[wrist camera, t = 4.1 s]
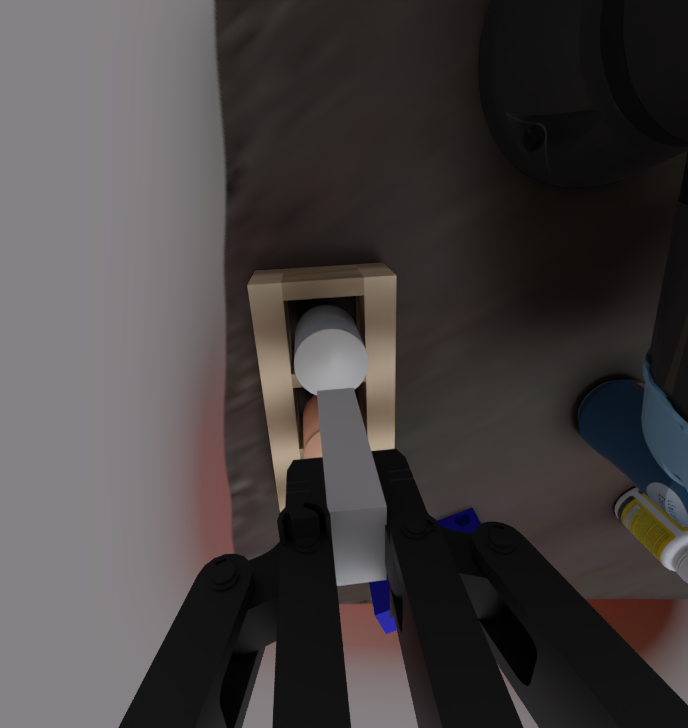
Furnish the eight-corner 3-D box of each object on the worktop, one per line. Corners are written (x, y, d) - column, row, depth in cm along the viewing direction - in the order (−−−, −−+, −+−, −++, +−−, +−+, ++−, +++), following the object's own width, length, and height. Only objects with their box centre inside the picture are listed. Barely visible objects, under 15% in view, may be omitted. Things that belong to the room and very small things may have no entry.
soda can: (567, 446, 37) (678, 554, 26) (573, 381, 34) (701, 473, 23) (638, 431, 37) (779, 533, 26) (650, 365, 34) (814, 450, 23)
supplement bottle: (618, 526, 42) (688, 601, 35) (607, 498, 40) (679, 571, 33) (661, 506, 42) (743, 577, 34) (652, 476, 40) (737, 545, 32)
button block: (255, 270, 28) (247, 284, 23) (382, 262, 28) (396, 275, 24) (284, 485, 35) (282, 525, 31) (383, 475, 36) (393, 512, 32)
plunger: (292, 306, 25) (290, 332, 20) (356, 302, 25) (367, 326, 20) (298, 365, 26) (297, 400, 22) (357, 360, 26) (369, 394, 22)
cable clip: (471, 506, 39) (499, 557, 34) (482, 536, 41) (510, 589, 35) (359, 548, 40) (369, 605, 34) (374, 575, 42) (386, 634, 36)
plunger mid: (300, 391, 27) (300, 431, 23) (358, 386, 27) (369, 424, 23) (305, 440, 29) (306, 485, 24) (360, 435, 29) (370, 479, 25)
